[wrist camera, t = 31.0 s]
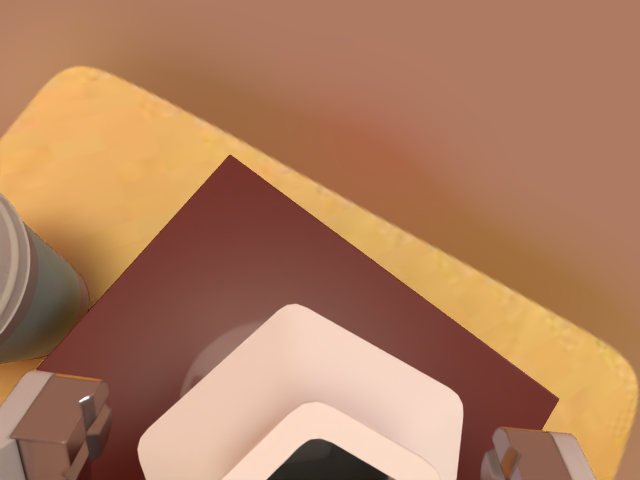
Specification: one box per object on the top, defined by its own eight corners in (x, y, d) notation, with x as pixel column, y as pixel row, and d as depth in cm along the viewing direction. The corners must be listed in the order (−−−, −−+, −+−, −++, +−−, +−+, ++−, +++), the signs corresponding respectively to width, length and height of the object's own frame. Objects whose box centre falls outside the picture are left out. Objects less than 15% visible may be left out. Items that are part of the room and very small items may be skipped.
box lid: (-6, 426, 19) (-19, 428, 18) (231, 161, 22) (229, 153, 21) (350, 738, 17) (353, 756, 16) (549, 398, 20) (560, 398, 19)
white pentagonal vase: (206, 444, 18) (-93, 693, 4) (268, 336, 19) (219, 213, 5) (317, 510, 18) (451, 1060, 3) (374, 396, 19) (650, 454, 5)
